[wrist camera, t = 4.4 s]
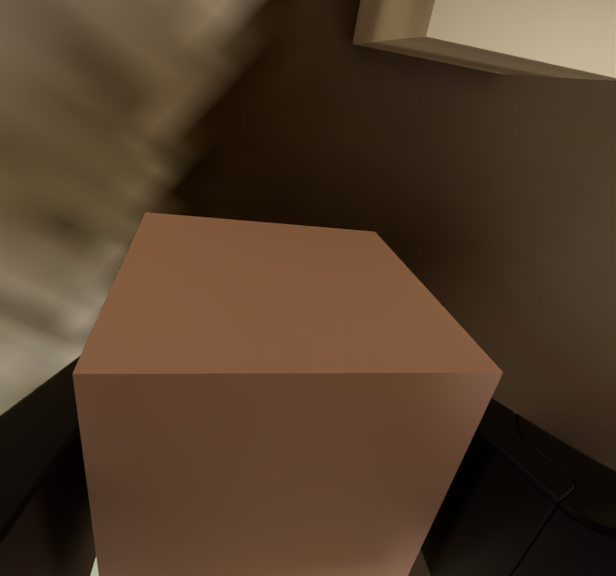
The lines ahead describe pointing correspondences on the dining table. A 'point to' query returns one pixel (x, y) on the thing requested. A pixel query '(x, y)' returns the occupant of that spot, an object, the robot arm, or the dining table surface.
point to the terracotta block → (271, 403)
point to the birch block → (498, 34)
